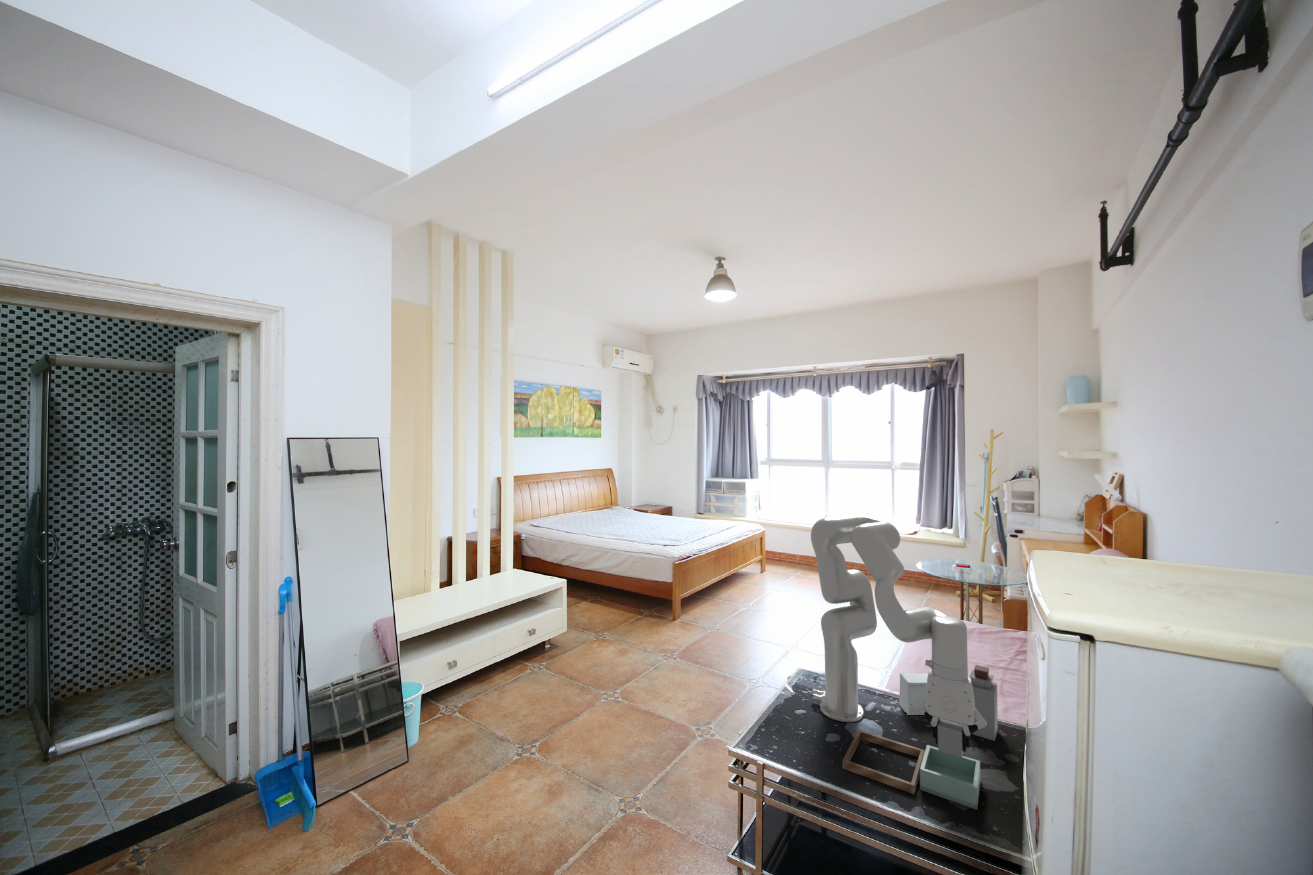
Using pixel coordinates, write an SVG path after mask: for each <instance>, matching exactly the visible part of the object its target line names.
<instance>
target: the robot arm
mask: <svg viewBox="0 0 1313 875" xmlns="http://www.w3.org/2000/svg"><path fill="white" fill-rule="evenodd" d="M810 542H811V545H812V549H813V551H814V554H815V559H816V564H817V571H818V577H819V583H820V589H821V590H820V591H821V595H822V597H823V599H824V600H825V602H827V603H829V604H833V605H834V604H836V605H837V604H845V603H849V605H848V606H842V607H841V606H840V607H837V608H836V607H835V608H832V609H829V610H827V611H826V612H824V613H823V615H822V616H821V619H820V626H821V632H822V637H823V644H824V690H819V689H818V688H817V689H816V688H812V690H811V694H812V696H813V700H817V701H820V704H819V707H820V711H821V712H822V714H824V715H825V716H826V717H827V718H830V719H832V720H835V721H839V722H842V723H853V722H858V721H860V720H861V719H862V718H863V717H864V708H863V707H862V706H861V705H860V704H859V680H858V679H859V674H858V672H859V669H858V666H859V665H858V653H857V650H856V649H855V647H854V646H853V643H852V641H853V640H856V639H859V638H864V637H868V636H871V635H873V634H874V633H875V632H876V630H877V627H878V621H877V620H878V619H877V611H878V613H879V616H880V618H881V619H882V621H883V622H884V624H885V625H886V627H887V628H888V630H889V631H890V633H891V634H892V635H893V636H894V637H895V638H896V639H898V640H899V641H901V642H903V643H909V644H910V643H914V642H918V641H922V640H931V659H929V660H928V659H925V662H924V663H925V667H926V666H927V667H929V668H930V670H929V671H928V678H927V686H926V697H925V698H924V699H922V700H921V701H920V702H919V703H918V704H917V709H918V710H919V711H920V712H921V713H922V714H924V716H923V717H925V719H927V721H928V722H929V723H930V725H931V727H932V738H933V739H934V740H935V743H934V744H936V745H938V722H939V718H941V719H944V720H948V721H952V722H955V723H959V724H962V727H963V734H962V748H963V753H966V752H967V748H968V749H970V747H971V742H970V740H971V738H970V737H971V735H973V734H972V733H974V732H975V731H977V730H978V729H981V728H983V727H986V724H987V722H986V721H985V719H984V718H983V717H982V715H981V714H980V713H979V712H978V710H977V709H976V708H975V700H974V692H973V686H972V682H971V679H970V677H969V672H968V671H969V670H968V669H969V667H968V665H969V664H968V661H969V660H968V659H969V658H968V628H967V625H966V623H965V621H963V620H962V619H961V618H957V617H954V616H950V615H947V614H945V613H943V612H942V611H941V610H938V609H936V608H934V607H931V606H922V607H916V608H910V609H905V610H904V608H903V607H902V605H901V603H900V601H899V600H898V598H897V596H896V594H895V589H894V588H895V582H896V581H897V580H898V579H900V577H901V576H903V574H904V572H905V567H904V564H903V563H902V562H901V560H900V559H899V558H898V556H897V555H896V552H895V551H894V550H895V549H897V548H898V547H899V545H900V543H901V535H900V532H899V531H898V529H897V528H896V526H895V525H893V524H891V523H890V522H888V521H885V520H882V519H877V518H874V517H871V516H866V515H862V514H848V515H835V516H828V517H824V518H821V519H819V520H817V521H816V522H815V523H814V524H813V525H812V528H811V531H810ZM840 544H841V545H842V544H852V546H853V548H854V550H855V551H856V553H857V554H858V555H859V558H860V559H861V560H862V562H863V563H864V565H865V566H866V568H867V570H868V571H869V573H870V575H871V576H872V578H873V579H874V582H875V583H874V584H875V585H874V592H873V589H872V585H871V581H870V580H869V578H868V576H867V575H866V574H865V573H864V572H863V571H862V570H859V569H854V568H853V569H852V568H851V569H848V568H847V565H846V564H847V563H846V558H845V556H844V554H843V552H842V551H841V549H840V547H838V546H837V545H840ZM873 593H874V595H873ZM874 599H875V600H874ZM925 706H926V708H925ZM975 718H976V720H977V722H974V720H975Z"/></svg>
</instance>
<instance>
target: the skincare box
mask: <svg viewBox="0 0 1313 875" xmlns="http://www.w3.org/2000/svg"><path fill="white" fill-rule="evenodd" d="M928 673H929V672H928ZM928 673H927V672H925V673H924V672H918V673H917V672H899V707H901V709H902V711H904V713H905V712H906V713H907V714H906V713H905V714H906V715H907V716H908V715H924V714H922V713H921V712H920V711H919V710H918V709H917V704H918V703H919V702H920V701H921V700H922V699H924V698H925V697H926V686H927V678H928ZM925 708H926V706H925Z"/></svg>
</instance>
